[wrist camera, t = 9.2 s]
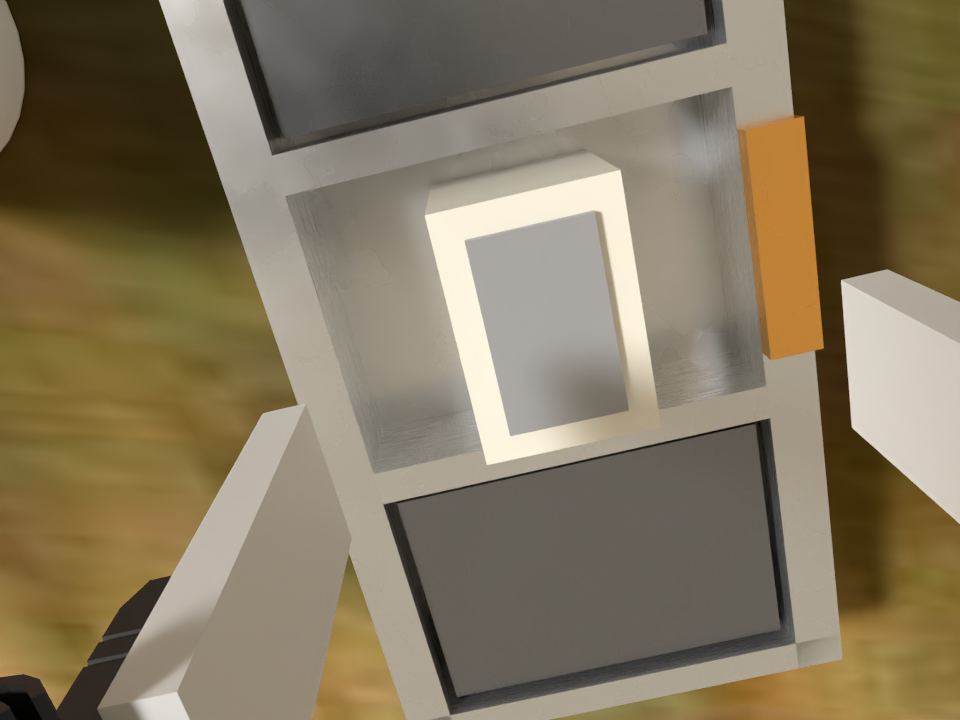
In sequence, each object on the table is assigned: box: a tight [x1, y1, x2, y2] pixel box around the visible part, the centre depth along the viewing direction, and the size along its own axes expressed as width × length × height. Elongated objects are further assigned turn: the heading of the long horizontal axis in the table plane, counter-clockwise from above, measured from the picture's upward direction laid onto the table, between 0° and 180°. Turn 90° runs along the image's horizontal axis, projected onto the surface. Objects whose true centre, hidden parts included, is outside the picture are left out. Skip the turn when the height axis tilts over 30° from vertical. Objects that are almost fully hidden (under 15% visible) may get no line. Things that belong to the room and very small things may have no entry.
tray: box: [159, 0, 842, 720], centre depth 22 cm, size 28×14×4 cm, turn 13°
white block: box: [425, 150, 661, 465], centre depth 21 cm, size 6×4×5 cm
